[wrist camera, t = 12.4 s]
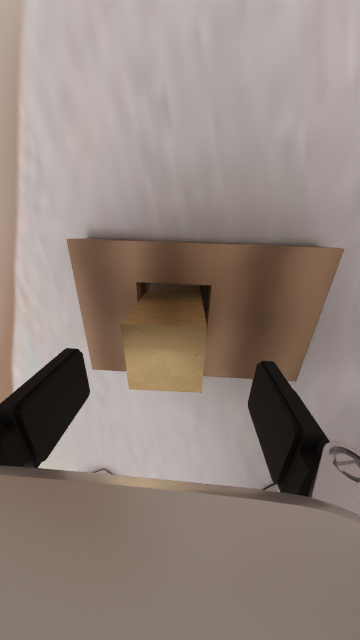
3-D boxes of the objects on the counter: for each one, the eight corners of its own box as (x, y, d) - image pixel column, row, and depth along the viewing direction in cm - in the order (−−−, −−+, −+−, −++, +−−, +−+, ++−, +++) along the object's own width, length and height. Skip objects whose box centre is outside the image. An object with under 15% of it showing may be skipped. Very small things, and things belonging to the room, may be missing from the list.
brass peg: (199, 284, 18) (207, 326, 10) (197, 327, 20) (201, 392, 11) (152, 283, 18) (120, 323, 10) (154, 325, 20) (128, 389, 12)
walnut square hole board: (317, 246, 16) (344, 248, 13) (282, 362, 21) (295, 381, 18) (87, 238, 17) (66, 239, 14) (105, 352, 22) (92, 369, 19)
